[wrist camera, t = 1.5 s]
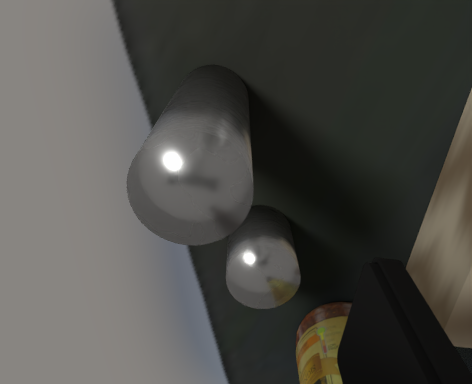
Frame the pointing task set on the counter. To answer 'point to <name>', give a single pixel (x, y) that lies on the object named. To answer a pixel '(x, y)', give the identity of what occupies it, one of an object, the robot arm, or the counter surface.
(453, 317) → the hole block
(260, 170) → the counter surface
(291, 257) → the short pin
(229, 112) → the long pin
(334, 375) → the sauce bottle
